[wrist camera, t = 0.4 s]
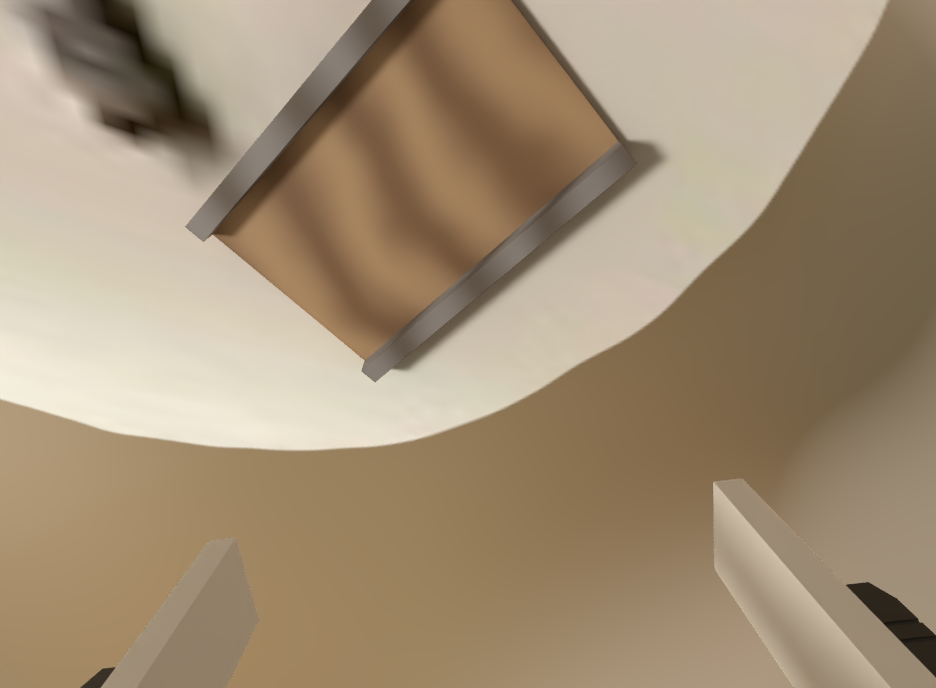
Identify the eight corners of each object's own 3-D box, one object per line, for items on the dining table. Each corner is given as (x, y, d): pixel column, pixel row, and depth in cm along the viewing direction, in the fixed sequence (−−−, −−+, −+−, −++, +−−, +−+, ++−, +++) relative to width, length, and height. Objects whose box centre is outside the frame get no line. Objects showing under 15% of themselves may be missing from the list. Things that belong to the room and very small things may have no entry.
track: (447, -82, 29) (445, -89, 27) (629, 156, 35) (637, 163, 34) (199, 217, 38) (185, 226, 36) (379, 367, 44) (375, 382, 42)
